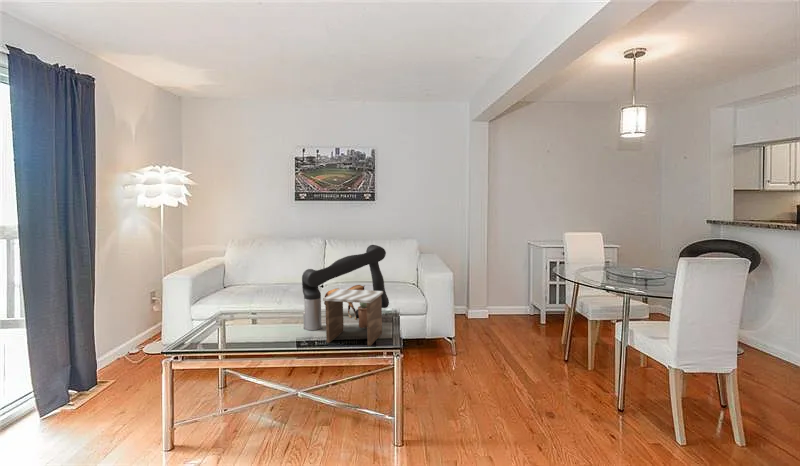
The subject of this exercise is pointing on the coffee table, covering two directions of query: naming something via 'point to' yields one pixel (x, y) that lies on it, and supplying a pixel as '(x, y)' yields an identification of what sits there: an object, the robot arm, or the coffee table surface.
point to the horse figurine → (356, 287)
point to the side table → (361, 296)
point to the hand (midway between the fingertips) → (362, 317)
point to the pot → (362, 315)
